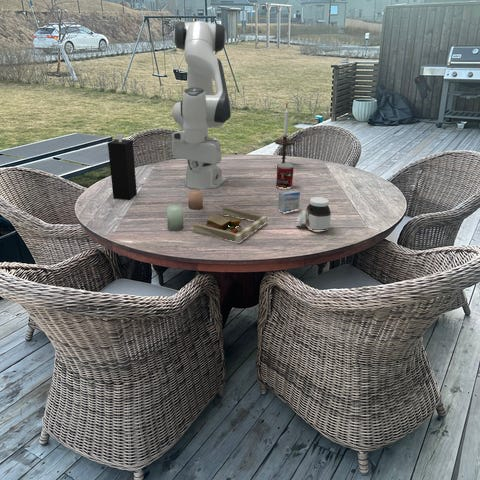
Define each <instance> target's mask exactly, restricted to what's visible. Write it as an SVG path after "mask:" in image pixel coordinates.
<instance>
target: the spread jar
mask: <svg viewBox="0 0 480 480" xmlns="http://www.w3.org/2000/svg"><path fill="white" fill-rule="evenodd" d="M309 200H310V201H309V204H308V205H307V206H306V208H305V210H304V209H302V210H301V211H300V213H299V216H298V217H297V221H299V222H298V224H297V226H300V227H301V226H302V225H303V222H304V221H305V222H304V223H305V226H306V225H307V226H308V227H309V228H311V229H312V230H326V229H328V230H329V228H330V225H331V215H332V212H331V208H330V206H329V203H330V201H329V199H328V198H326V197H320V196H315V197H311V198H310V199H309ZM297 221H296V222H297ZM297 226H296V227H297ZM326 231H327V230H326Z"/></svg>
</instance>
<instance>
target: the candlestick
mask: <svg viewBox="0 0 480 480" xmlns="http://www.w3.org/2000/svg"><path fill="white" fill-rule="evenodd" d="M285 106H286V108H285V110H284V123H283V135H281V137H282V138H280V139H279V138H278V139H275V140H274V144H275V145H279V146H282V152H281V156H282V157H281V160H282V162H281V163H286V159H287V157H286V156H287V152H286V148H287V146H294V145H295V143H296V141H295V140H293V139H290V138H289V136H288V125H289V122H288V121H289V110H288V109H289V107H288V103H286V105H285ZM288 138H289V139H288Z"/></svg>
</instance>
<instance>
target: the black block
mask: <svg viewBox="0 0 480 480" xmlns="http://www.w3.org/2000/svg"><path fill="white" fill-rule="evenodd" d="M116 137H117V139H113V140H110V141H109V142H108V141H107V150H108V159H109V167H110V178H111V189H112V196H113V197H112V199H114V200H122V201H123V200H124V201H131V200H132V199H134V197H136V196H137V195H138V192H137V191H138V190H137V177H136V166H135V154H134V153H135V152H134V140H133V139H123V137H124V134H121V133H116Z"/></svg>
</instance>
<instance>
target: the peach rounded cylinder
mask: <svg viewBox="0 0 480 480" xmlns="http://www.w3.org/2000/svg"><path fill="white" fill-rule="evenodd" d="M203 194H204V192H203V189H190V190H188V209H190V210H191V211H192V210H193V211H200V210H202V209H203V208H204V195H203Z"/></svg>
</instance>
